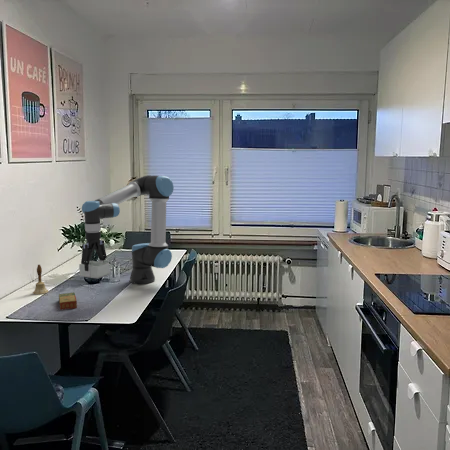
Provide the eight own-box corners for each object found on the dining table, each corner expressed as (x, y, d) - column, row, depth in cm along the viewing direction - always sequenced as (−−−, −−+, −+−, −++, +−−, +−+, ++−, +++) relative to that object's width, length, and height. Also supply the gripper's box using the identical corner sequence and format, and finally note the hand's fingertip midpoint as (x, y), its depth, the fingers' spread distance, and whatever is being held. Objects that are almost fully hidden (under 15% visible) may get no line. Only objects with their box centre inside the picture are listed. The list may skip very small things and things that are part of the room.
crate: (91, 271, 240) (91, 260, 239) (109, 274, 235) (109, 263, 234) (79, 275, 232) (79, 264, 231) (98, 278, 227) (97, 266, 226)
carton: (59, 310, 227) (59, 302, 226) (58, 301, 241) (58, 293, 241) (77, 308, 230) (76, 300, 229) (75, 299, 244) (74, 291, 244)
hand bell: (30, 292, 256) (28, 264, 254) (45, 289, 262) (44, 262, 259) (35, 295, 250) (33, 267, 248) (50, 292, 255) (49, 265, 253)
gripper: (101, 228, 242) (103, 269, 245) (71, 234, 222) (73, 278, 226) (112, 229, 238) (114, 270, 242) (83, 235, 219) (85, 280, 222)
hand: (94, 274), depth 234 cm, fingers closed on crate, 9 cm apart
